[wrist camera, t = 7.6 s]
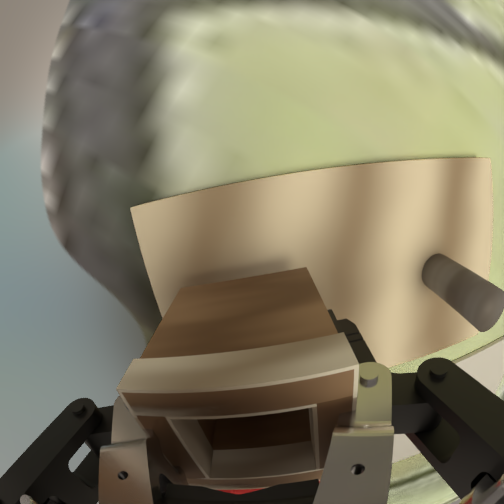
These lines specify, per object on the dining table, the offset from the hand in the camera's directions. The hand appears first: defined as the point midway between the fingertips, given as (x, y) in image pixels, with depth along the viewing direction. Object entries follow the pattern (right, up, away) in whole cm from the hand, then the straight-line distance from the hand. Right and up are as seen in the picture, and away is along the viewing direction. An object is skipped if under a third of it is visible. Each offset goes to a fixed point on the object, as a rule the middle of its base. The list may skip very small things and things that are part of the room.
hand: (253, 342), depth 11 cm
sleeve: (0, 0, +1) cm, 1 cm away
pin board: (+5, +2, +4) cm, 7 cm away
